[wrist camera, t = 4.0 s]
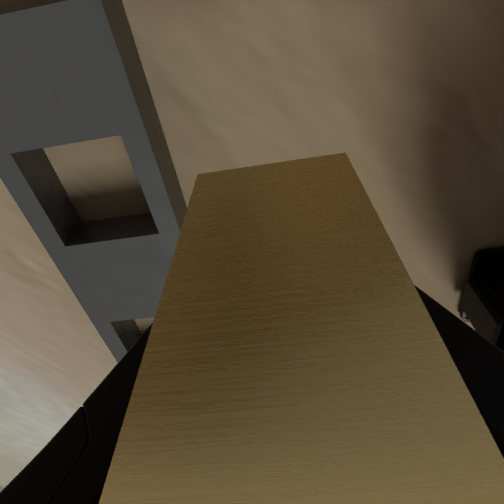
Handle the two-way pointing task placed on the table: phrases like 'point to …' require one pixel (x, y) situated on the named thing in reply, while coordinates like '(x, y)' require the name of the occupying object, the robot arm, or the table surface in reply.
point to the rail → (82, 129)
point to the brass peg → (296, 360)
